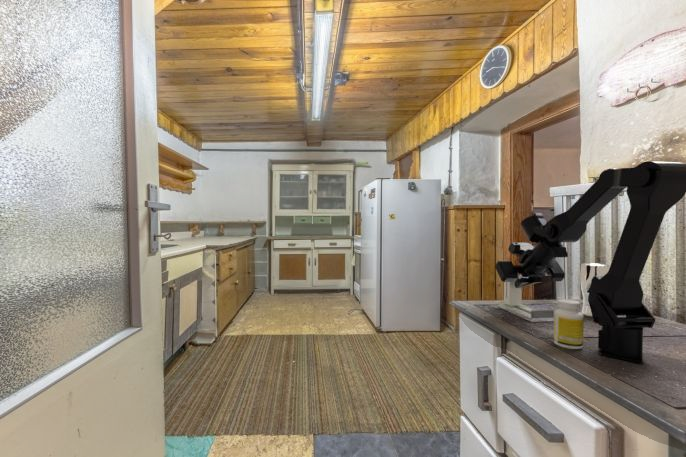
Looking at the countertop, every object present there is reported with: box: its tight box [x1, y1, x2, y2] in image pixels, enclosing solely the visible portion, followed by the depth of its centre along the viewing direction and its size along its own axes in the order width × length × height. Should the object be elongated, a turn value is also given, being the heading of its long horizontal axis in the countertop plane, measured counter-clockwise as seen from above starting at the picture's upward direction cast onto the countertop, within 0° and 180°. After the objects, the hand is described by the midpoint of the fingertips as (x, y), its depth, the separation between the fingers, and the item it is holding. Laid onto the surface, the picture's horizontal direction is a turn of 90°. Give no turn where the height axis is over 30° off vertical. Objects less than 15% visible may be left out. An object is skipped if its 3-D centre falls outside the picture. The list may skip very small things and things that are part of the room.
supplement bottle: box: [553, 298, 585, 350], centre depth 72 cm, size 5×5×10 cm
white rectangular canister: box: [503, 281, 523, 306], centre depth 102 cm, size 3×4×11 cm
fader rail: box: [498, 303, 555, 323], centre depth 97 cm, size 16×7×3 cm, turn 6°
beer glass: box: [579, 262, 610, 318], centre depth 96 cm, size 7×7×15 cm
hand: (516, 286), depth 101 cm, fingers closed, pressing on white rectangular canister
